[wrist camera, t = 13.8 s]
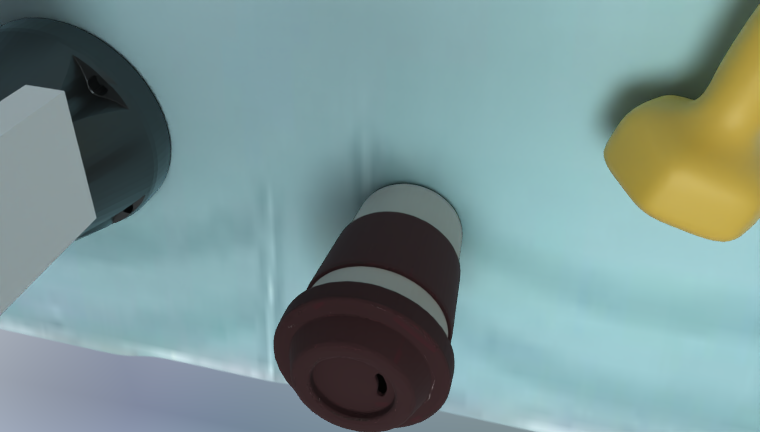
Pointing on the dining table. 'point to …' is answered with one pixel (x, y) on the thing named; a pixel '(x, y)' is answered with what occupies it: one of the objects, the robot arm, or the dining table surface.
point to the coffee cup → (378, 315)
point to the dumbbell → (698, 149)
